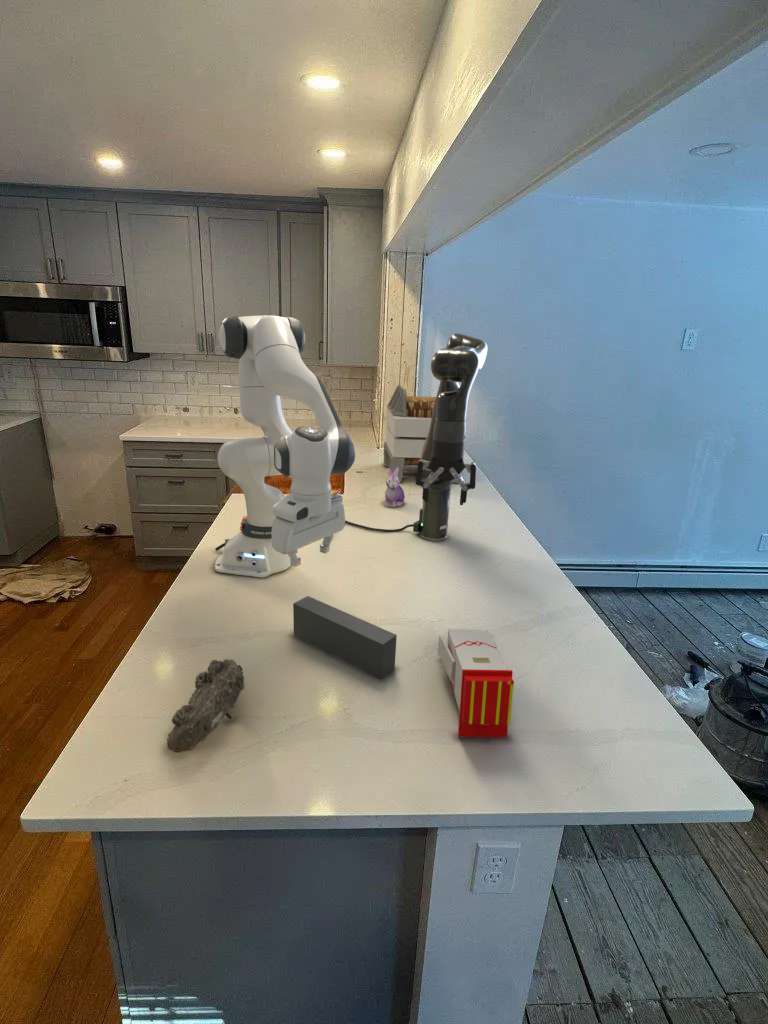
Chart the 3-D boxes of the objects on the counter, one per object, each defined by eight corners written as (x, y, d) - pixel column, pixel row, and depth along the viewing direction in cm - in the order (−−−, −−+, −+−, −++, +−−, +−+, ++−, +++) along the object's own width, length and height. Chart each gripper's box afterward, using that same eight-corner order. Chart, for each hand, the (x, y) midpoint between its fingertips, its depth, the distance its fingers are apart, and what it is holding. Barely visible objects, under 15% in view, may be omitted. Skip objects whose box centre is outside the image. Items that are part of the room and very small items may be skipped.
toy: (488, 613, 130) (523, 677, 101) (484, 667, 133) (517, 744, 104) (435, 612, 130) (455, 676, 101) (432, 666, 133) (451, 743, 103)
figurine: (389, 509, 224) (391, 472, 218) (377, 501, 232) (379, 465, 227) (410, 506, 228) (412, 470, 223) (398, 498, 236) (399, 463, 231)
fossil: (192, 660, 117) (244, 628, 112) (224, 691, 120) (276, 661, 115) (142, 746, 98) (202, 712, 93) (182, 779, 101) (242, 748, 96)
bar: (394, 668, 125) (396, 634, 122) (381, 679, 121) (383, 644, 118) (308, 626, 140) (307, 595, 137) (293, 635, 136) (293, 603, 133)
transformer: (382, 463, 289) (386, 382, 275) (445, 464, 293) (451, 384, 279) (390, 482, 257) (394, 392, 243) (460, 483, 261) (468, 394, 247)
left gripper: (332, 487, 134) (330, 540, 139) (266, 509, 118) (267, 568, 123) (352, 493, 130) (350, 548, 135) (287, 517, 115) (287, 578, 120)
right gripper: (478, 436, 136) (472, 500, 141) (419, 432, 137) (415, 496, 142) (480, 443, 129) (473, 510, 134) (418, 439, 130) (413, 506, 135)
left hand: (310, 558), depth 129 cm, fingers open, 8 cm apart
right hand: (443, 503), depth 138 cm, fingers open, 8 cm apart
